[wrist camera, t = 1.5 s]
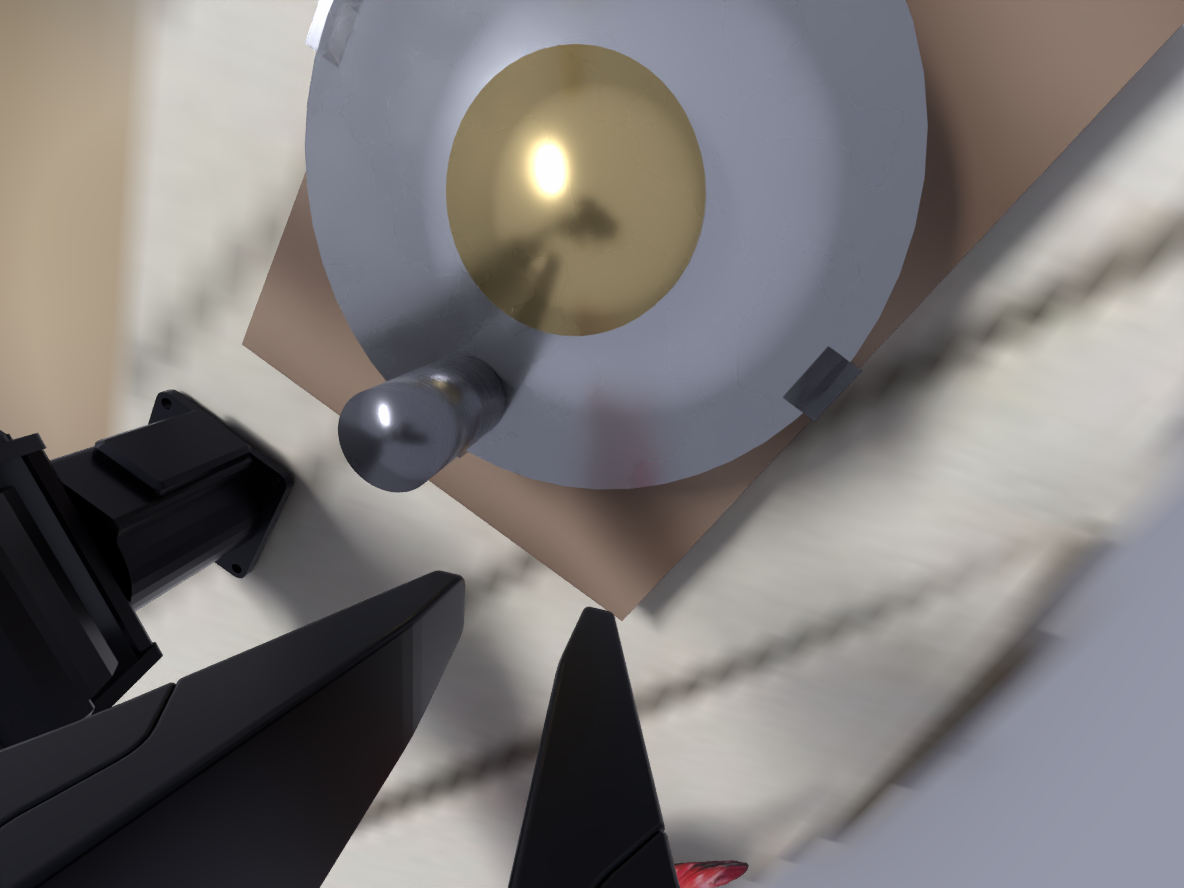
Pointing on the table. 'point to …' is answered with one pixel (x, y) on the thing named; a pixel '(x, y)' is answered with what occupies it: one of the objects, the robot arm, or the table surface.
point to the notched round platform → (607, 223)
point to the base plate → (940, 240)
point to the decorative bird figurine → (708, 873)
